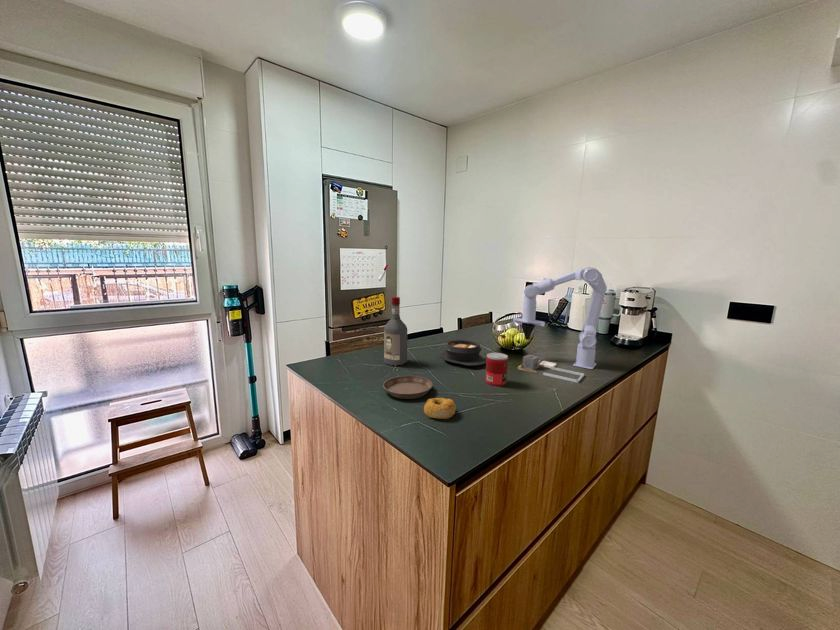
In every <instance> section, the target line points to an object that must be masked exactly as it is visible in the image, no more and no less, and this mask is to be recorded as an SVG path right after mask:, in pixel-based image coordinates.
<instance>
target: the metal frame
mask: <svg viewBox="0 0 840 630" xmlns="http://www.w3.org/2000/svg"><path fill="white" fill-rule="evenodd" d="M549 369H550V370H553V371H557V372H562V373H567V374H571V375H576V376H579V377H578V379H575V378H572V377H571V378H570V377H566V376H561V375H557V374H554V373H548V372H543V373H542V374H543V376H546V377H550V378H555V379H559V380H562V381H563V380H564V381H569V382H571V383H572V382H573V383H580V381H582V379H583V378H584V377H585V373H584V372H578V371H575V370H574V371H573V370H570V369H564V368H559V367H556V366H555V367H551V368H549Z"/></svg>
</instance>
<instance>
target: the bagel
mask: <svg viewBox="0 0 840 630" xmlns="http://www.w3.org/2000/svg"><path fill="white" fill-rule="evenodd" d="M456 409H457V406H456V404H455V402H454V400H452V399H451V398H444V397H435V398H433V397H432V398H429V399H427V400H426V403H425V404H424V406H423V413H424V414H425V415H426V416H427V417H429V418H432V419H436V420H437V419H438V420H449V419H450V418H452V417H453V416H454V415H455V413H456Z"/></svg>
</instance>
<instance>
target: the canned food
mask: <svg viewBox="0 0 840 630" xmlns="http://www.w3.org/2000/svg"><path fill="white" fill-rule="evenodd" d="M485 360H486V363H485V383H486V384H487V385H490V386H492V387H503V386H506V385H507V380H508V367H509V366H508V365H509V355H507V354H505V353H501V352H490V353H489V352H488V353H486V359H485Z"/></svg>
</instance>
